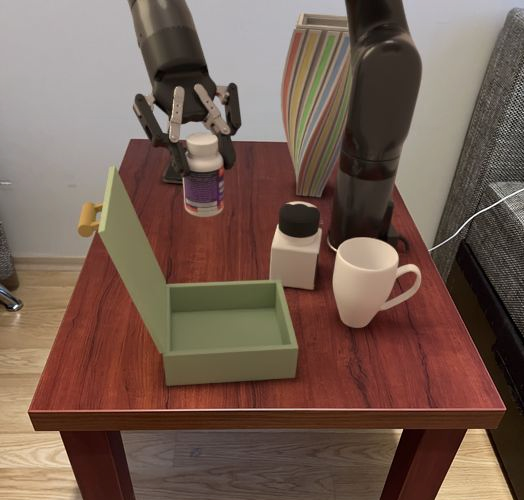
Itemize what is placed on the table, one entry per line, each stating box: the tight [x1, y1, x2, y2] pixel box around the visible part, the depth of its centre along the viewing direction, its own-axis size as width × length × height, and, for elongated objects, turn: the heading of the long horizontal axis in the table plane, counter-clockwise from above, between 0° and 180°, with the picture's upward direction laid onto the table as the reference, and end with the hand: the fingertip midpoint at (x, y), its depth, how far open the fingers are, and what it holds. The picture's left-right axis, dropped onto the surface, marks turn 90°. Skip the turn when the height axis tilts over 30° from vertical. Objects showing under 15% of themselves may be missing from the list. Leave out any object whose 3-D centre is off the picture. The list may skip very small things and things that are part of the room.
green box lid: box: [76, 165, 167, 355], centre depth 64 cm, size 17×15×4 cm
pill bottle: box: [182, 131, 225, 218], centre depth 71 cm, size 5×5×10 cm
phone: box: [162, 147, 187, 185], centre depth 114 cm, size 8×1×15 cm
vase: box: [280, 12, 353, 198], centre depth 99 cm, size 14×14×30 cm
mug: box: [332, 237, 422, 329], centre depth 76 cm, size 12×8×11 cm
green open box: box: [162, 279, 299, 387], centre depth 73 cm, size 17×15×5 cm
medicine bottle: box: [268, 201, 323, 291], centre depth 84 cm, size 7×7×12 cm
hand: (208, 170), depth 69 cm, fingers closed on pill bottle, 5 cm apart
